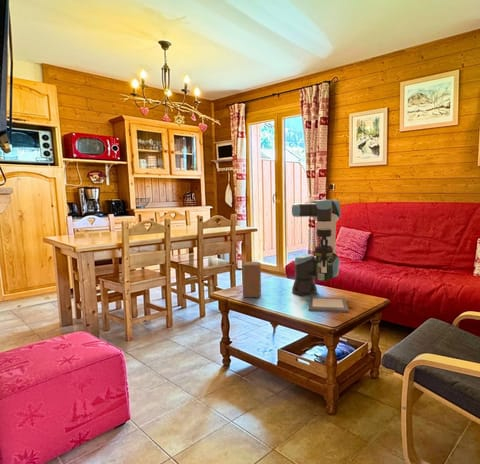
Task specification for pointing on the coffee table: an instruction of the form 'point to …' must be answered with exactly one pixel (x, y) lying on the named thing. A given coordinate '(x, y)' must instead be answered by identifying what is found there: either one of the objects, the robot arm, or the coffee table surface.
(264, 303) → the coffee table surface
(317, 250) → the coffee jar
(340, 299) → the grey square frame
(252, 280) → the wooden block
